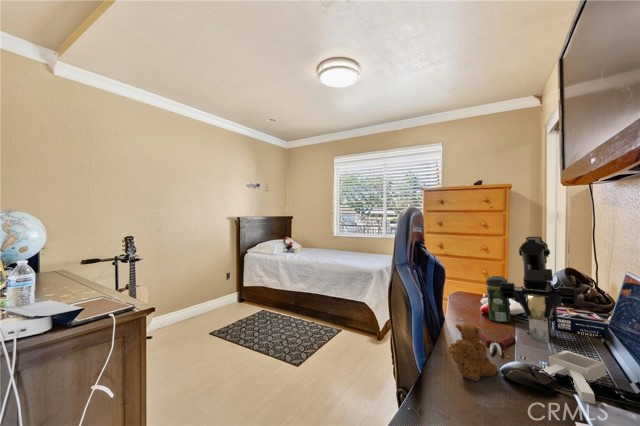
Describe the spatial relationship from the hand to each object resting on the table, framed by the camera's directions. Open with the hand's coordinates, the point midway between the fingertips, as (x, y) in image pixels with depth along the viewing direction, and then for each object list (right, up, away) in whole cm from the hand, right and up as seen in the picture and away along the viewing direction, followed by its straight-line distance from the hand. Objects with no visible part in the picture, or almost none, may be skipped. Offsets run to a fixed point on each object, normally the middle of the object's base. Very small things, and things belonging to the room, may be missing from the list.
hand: (537, 317), depth 80 cm
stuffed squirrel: (-22, -14, -5) cm, 27 cm away
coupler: (+1, -7, +1) cm, 7 cm away
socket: (+2, -12, -11) cm, 16 cm away
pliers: (-5, -15, +14) cm, 21 cm away
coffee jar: (+13, -15, +37) cm, 42 cm away
